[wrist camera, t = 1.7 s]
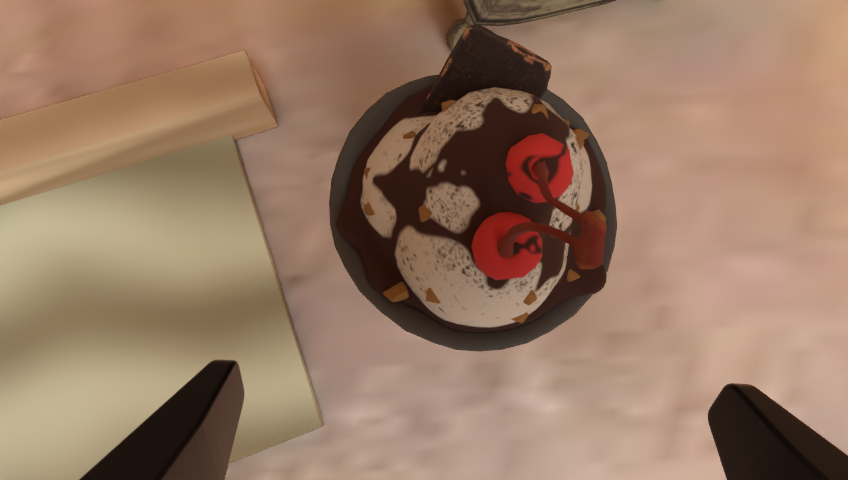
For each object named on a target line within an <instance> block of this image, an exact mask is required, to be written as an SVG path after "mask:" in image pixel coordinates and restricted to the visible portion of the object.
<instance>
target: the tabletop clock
mask: <svg viewBox="0 0 848 480" xmlns="http://www.w3.org/2000/svg"><path fill="white" fill-rule="evenodd" d="M612 1H615V0H463V2H464V4H465V6H466V9H467V14H466V18H464V19H459V20H457V21H455V22H453V23H452V24H451V26H450V28H449V30H448V33H447V37H446V40H447V44H448V46H449V47H450V49H451V50H453V49H454V47H455V45H456V43H457V42H458V40H459V38H460V37H461V35H462V33H463V32H464V30H465V28H466V27H467V26H471V25H474V24H479V25H491V26H502V25H511V24H519V23H524V22H529V21H534V20H538V19H543V18H547V17H551V16H555V15H560V14H564V13H568V12H572V11H577V10H581V9H585V8H590V7H594V6H598V5H602V4H606V3H609V2H612Z"/></svg>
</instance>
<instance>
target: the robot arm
mask: <svg viewBox="0 0 848 480" xmlns="http://www.w3.org/2000/svg"><path fill="white" fill-rule="evenodd" d="M243 402H244V386H243V381H242V377H241V372H240V367H239V364H238V363H237V361H235V360H220V359H217V360H213V361H211V362H210V363H208V364H207V365H206V366H205V367H204V368H203V369H202V370H201V371H199V372H198V373H197V374H196V375H195V376H194V377H193V378H192V379H191V380H189V381H188V382H187V383H186V384H185V385H184V386H183V387H182V388H180V389H179V390H178V391H177V392H176V393H175V394H174V395H173V396H172V397H170V398H169V399H168V400H167V401H166V402H165V403H164V404H163V405H162V406H160V407H159V408H158V409H157V410H156V411H155V412H154V413H153V414H151V415H150V416H149V417H148V418H147V419H146V420H145V421H144V422H143V423H141V424H140V425H139V426H138V427H137V428H136V429H135V430H134V431H133V432H131V433H130V434H129V435H128V436H127V437H126V438H125V439H124V440H122V441H121V442H120V443H119V444H118V445H117V446H116V447H115V448H114V449H112V450H111V451H110V452H109V453H108V454H107V455H106V456H105V457H104V458H102V459H101V460H100V461H99V462H98V463H97V464H96V465H95V466H93V467H92V468H91V469H90V470H89V471H88V472H87V473H86V474H85V475H83V476H82V477H81V478H80V479H79V480H224V479H225V475H226V471H227V467H228V463H229V459H230V455H231V451H232V447H233V443H234V439H235V435H236V431H237V427H238V423H239V419H240V415H241V411H242V406H243ZM708 422H709V426H710V429H711V432H712V435H713V438H714V441H715V444H716V447H717V450H718V454H719V457H720V460H721V463H722V466H723V469H724V472H725V475H726V478H727V480H848V455H846V454H845V453H844V452H842V451H841V450H840V449H838V448H837V447H835V446H834V445H833V444H831V443H830V442H829V441H827V440H826V439H825V438H823V437H822V436H821V435H819V434H818V433H817V432H815V431H814V430H813V429H811V428H810V427H809V426H807V425H806V424H804V423H803V422H802V421H800V420H799V419H798V418H796V417H795V416H794V415H792V414H791V413H790V412H788V411H787V410H786V409H784V408H783V407H782V406H780V405H779V404H777V403H776V402H775V401H773V400H772V399H771V398H769V397H768V396H767V395H765V394H764V393H763V392H761V391H760V390H759V389H757V388H756V387H754V386H752V385H749V384H733V383H731V384H727V385H726V386H725V387H724V388H723V389H722V391H721V392H720V394H719V395H718V397H717V398H716V400H715V401H714V403H713V404H712V406H711V407H710V409H709V412H708Z"/></svg>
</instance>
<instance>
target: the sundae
mask: <svg viewBox="0 0 848 480" xmlns="http://www.w3.org/2000/svg"><path fill="white" fill-rule="evenodd" d="M551 67H552V66H551V65H550V63H549V62H548V61H546V60H545V59H543V58H541V57H539V56H538V55H536V54H534V53H532V52H531V51H529V50H528V49H526V48H524V47H523V46H521V45H519V44H517V43H515V42H513V41H511V40H509V39H506V38H503V37H501V36H498V35H496V34H495V33H493V32H492V31H490V30H488V29H487V28H485V27H483V26H481V25H479V24H474V25H471V26H467V27H466V28H465V30H464V32H463V33H462V35H461V37H460V38H459V40H458V42H457V43H456V45H455V47H454V49H453V50H452V52H451V54H450V55H449V57H448V59H447V61H446V63H445V64H444V66H443V68H442V70H441V72H440V74H439V75H432V76H427V77H424V78H421V79H417V80H414V81H411V82H408V83H406V84H404V85H402V86H400V87H398V88H396V89H394V90H392V91H390V92H387V93H386V94H385V95H384V96H382V97H381V98H380V99H379V100H378V101H377V102H376V103H375V104H374V105H372V106H371V107H370V108H369V109H368V110H367V111H366V112H365V113H364V115H363V116H362V117H361V118H360V120H359V121H358V122H357V123H356V124H355V126H354V127H353V128H352V129H351V131H350V132H349V134H348V137H347V139H346V141H345V143H344V146H343V148H342V150H341V152H340V155H339V157H338V160H337V163H336V167H335V170H334V173H333V177H332V180H331V191H330V201H329V207H330V225H331V230H332V234H333V239H334V244H335V247H336V250H337V252H338V254H339V256H340V258H341V260H342V262H343V264H344V267H345V268H346V270H347V272H348V273H349V275H350V276H351V278H352V280H353V281H354V283H355V284H356V286H357V288H358V289H359V291H360V292H361V293H362V294H363V295H364V296H365V297H366V298H367V299H368V300H369V301H370V302H371V303H372V304H373V305H374V306H375V307H376V308H377V309H378V310H380V311H381V312H382V313H383V314H384V315H386V316H387V317H388V318H390V319H391V320H392V321H394V322H395V323H396V324H397V325H399V326H400V327H401V328H403V329H404V330H405V331H408V332H410V333H412V334H415V335H417V336H419V337H421V338H424V339H426V340H428V341H431V342H433V343H436V344H439V345H443V346H446V347H449V348H452V349H456V350H468V351H490V350H501V349H506V348H510V347H514V346H517V345H521V344H525V343H528V342H530V341H532V340H534V339H536V338H538V337H540V336H542V335H544V334H546V333H548V332H550V331H551V330H553V329H554V328H556V327H557V326H559V325H560V324H562V323H563V322H565V321H566V320H568V319H569V318H571V317H572V316H574V315H575V314H576V313H577V312H578V310H579V309H580V308H581V307H582V306H583V305H584V304H585V302H586V301H587V300H588V299H589V298H590V297H591V296H592V294H595V293H597V292H598V291H600V290H601V289H602V288H603V287H604V285H605V283H606V276H607V275H606V273H607V271H608V268H609V264H610V260H611V257H612V253H613V249H614V246H615V238H616V230H617V218H616V206H615V199H614V193H613V188H612V182H611V178H610V175H609V171H608V167H607V163H606V160H605V158H604V156H603V153H602V151H601V149H600V147H599V145H598V142H597V140H596V139H595V137H594V135H593V134H592V132H591V131H590V129H589V127H588V126H587V124H586V123H585V121H584V119H583V118H582V117H581V116H580V115H579V114H578V113H577V112H576V111H575V110H574V109H573V108H571V107H570V106H569V105H568V104H567V103H566V102H565V101H564V100H563V99H561V98H560V97H558V96H557V95H555V94H554V93H552V92H550V91H549V90H547V86H548V81H549V79H550V74H551Z"/></svg>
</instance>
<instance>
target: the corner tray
mask: <svg viewBox="0 0 848 480" xmlns="http://www.w3.org/2000/svg"><path fill="white" fill-rule="evenodd" d="M275 127H278V124H277V121H276V118H275V115H274V112H273V109H272V106H271V103H270V100H269V97H268V94H267V91H266V88H265V86H264V84H263V82H262V81H261V79H260V77H259V75H258V73H257V71H256V69H255V68H254V66H253V64H252V62H251V60H250V58H249V56H248V55H247V53H246V51H245V50H243V51H240V52H236V53H233V54H229V55H226V56H222V57H219V58H215V59H212V60H208V61H205V62H201V63H198V64H194V65H191V66H187V67H184V68H180V69H177V70H173V71H169V72H166V73H162V74H159V75H155V76H152V77H148V78H145V79H141V80H138V81H134V82H131V83H127V84H124V85H120V86H117V87H113V88H110V89H106V90H103V91H99V92H96V93H92V94H89V95H85V96H82V97H78V98H75V99H71V100H68V101H64V102H61V103H57V104H54V105H50V106H47V107H43V108H40V109H36V110H33V111H29V112H26V113H22V114H19V115H15V116H11V117H8V118H4V119H1V120H0V480H79V479H80V478H81V477H82V476H83V475H85V474H86V473H87V472H88V471H89V470H90V469H91V468H92V467H93V466H95V465H96V464H97V463H98V462H99V461H100V460H101V459H102V458H104V457H105V456H106V455H107V454H108V453H109V452H110V451H111V450H112V449H114V448H115V447H116V446H117V445H118V444H119V443H120V442H121V441H122V440H124V439H125V438H126V437H127V436H128V435H129V434H130V433H131V432H133V431H134V430H135V429H136V428H137V427H138V426H139V425H140V424H141V423H143V422H144V421H145V420H146V419H147V418H148V417H149V416H150V415H151V414H153V413H154V412H155V411H156V410H157V409H158V408H159V407H160V406H162V405H163V404H164V403H165V402H166V401H167V400H168V399H169V398H170V397H172V396H173V395H174V394H175V393H176V392H177V391H178V390H179V389H180V388H182V387H183V386H184V385H185V384H186V383H187V382H188V381H189V380H191V379H192V378H193V377H194V376H195V375H196V374H197V373H198V372H199V371H201V370H202V369H203V368H204V367H205V366H206V365H207V364H208V363H210V362H211V361H213V360H217V359H220V360H235V361H237V363H238V364H239V367H240V372H241V377H242V381H243V386H244V402H243V406H242V411H241V415H240V419H239V423H238V427H237V431H236V435H235V439H234V443H233V447H232V451H231V455H230V459H229V463H231V462H233V461H236V460H239V459H241V458H244V457H246V456H249V455H251V454H254V453H257V452H259V451H262V450H264V449H267V448H269V447H272V446H275V445H277V444H280V443H282V442H285V441H287V440H290V439H293V438H295V437H298V436H300V435H303V434H305V433H308V432H311V431H313V430H316V429H318V428H321V427H322V426H323V425H324V423H323V420H322V417H321V414H320V410H319V407H318V404H317V401H316V398H315V394H314V391H313V388H312V385H311V381H310V378H309V375H308V372H307V369H306V365H305V362H304V359H303V356H302V353H301V349H300V346H299V343H298V340H297V337H296V333H295V330H294V327H293V324H292V321H291V317H290V314H289V311H288V308H287V304H286V301H285V298H284V295H283V292H282V288H281V285H280V282H279V279H278V276H277V272H276V269H275V266H274V263H273V260H272V256H271V253H270V250H269V247H268V244H267V240H266V237H265V234H264V231H263V227H262V224H261V221H260V218H259V215H258V211H257V208H256V205H255V202H254V199H253V195H252V192H251V189H250V186H249V183H248V179H247V176H246V173H245V170H244V166H243V163H242V160H241V157H240V154H239V150H238V147H237V144H236V141H235V140H236V139H239V138H242V137H246V136H249V135H252V134H255V133H259V132H262V131H265V130H268V129H272V128H275Z"/></svg>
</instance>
